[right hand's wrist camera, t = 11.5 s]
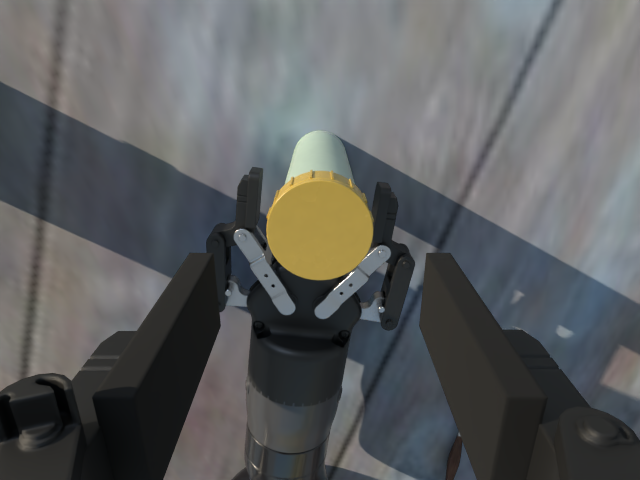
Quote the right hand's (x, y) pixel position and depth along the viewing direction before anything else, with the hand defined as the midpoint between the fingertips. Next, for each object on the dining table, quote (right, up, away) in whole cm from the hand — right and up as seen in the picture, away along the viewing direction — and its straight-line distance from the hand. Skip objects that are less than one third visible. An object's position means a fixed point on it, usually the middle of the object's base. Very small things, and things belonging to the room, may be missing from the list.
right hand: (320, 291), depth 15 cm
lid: (0, +2, +5) cm, 6 cm away
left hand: (0, +6, +15) cm, 16 cm away
